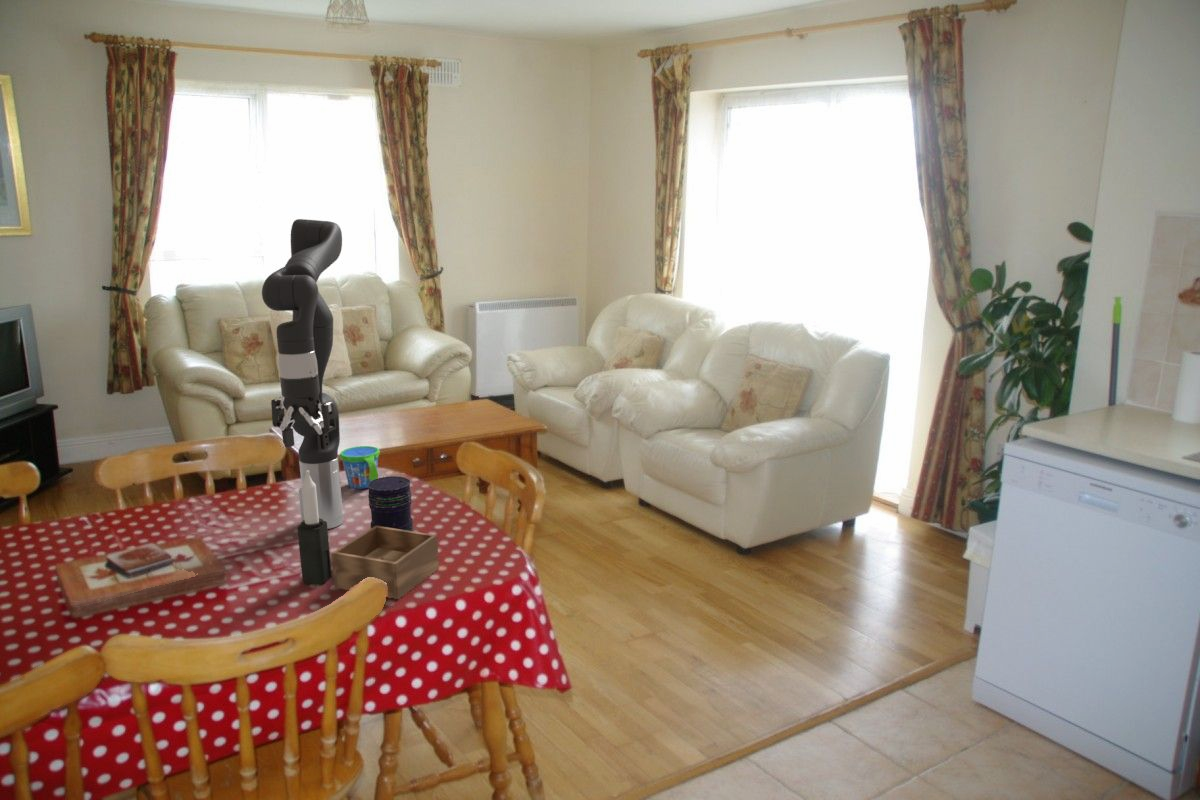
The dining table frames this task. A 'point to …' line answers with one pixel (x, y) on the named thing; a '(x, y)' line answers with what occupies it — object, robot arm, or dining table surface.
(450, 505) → the dining table surface
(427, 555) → the peg box
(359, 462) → the snack cup
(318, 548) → the candle
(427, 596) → the dining table surface
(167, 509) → the dining table surface
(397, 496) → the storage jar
